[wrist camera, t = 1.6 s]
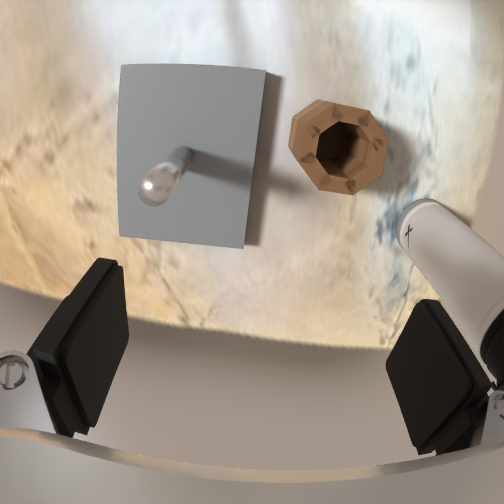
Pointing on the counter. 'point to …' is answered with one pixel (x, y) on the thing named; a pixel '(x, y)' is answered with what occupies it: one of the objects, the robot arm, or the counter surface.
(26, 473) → the robot arm
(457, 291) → the travel mug
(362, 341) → the counter surface
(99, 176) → the counter surface
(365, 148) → the walnut bead
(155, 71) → the rod board
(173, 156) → the metal rod
